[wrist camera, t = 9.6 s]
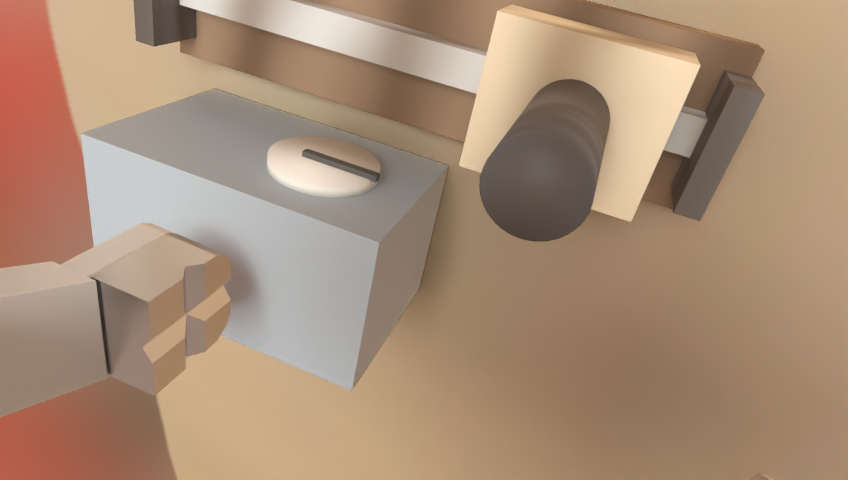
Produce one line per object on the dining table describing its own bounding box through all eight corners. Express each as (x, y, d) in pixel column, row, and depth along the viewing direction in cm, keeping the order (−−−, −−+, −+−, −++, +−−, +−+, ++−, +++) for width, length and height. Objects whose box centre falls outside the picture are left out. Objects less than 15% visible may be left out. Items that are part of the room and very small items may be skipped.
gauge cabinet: (452, 150, 29) (382, 223, 21) (418, 289, 33) (351, 390, 26) (214, 73, 32) (78, 114, 24) (213, 212, 36) (98, 283, 29)
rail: (758, 44, 23) (780, 65, 19) (682, 199, 26) (688, 243, 22) (198, -100, 28) (127, -106, 24) (199, 47, 31) (137, 62, 27)
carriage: (693, 48, 22) (724, 121, 13) (633, 187, 25) (624, 324, 16) (517, 1, 23) (434, 38, 14) (481, 139, 26) (394, 241, 17)
